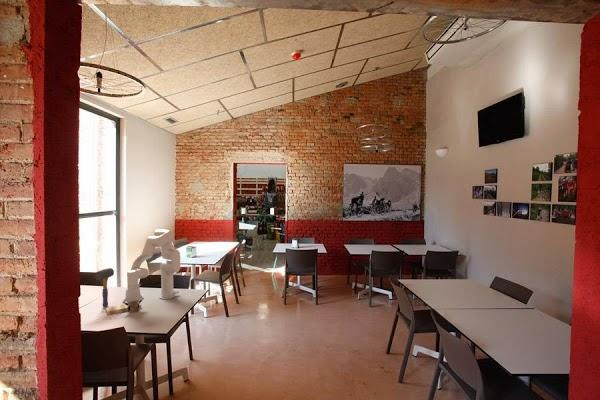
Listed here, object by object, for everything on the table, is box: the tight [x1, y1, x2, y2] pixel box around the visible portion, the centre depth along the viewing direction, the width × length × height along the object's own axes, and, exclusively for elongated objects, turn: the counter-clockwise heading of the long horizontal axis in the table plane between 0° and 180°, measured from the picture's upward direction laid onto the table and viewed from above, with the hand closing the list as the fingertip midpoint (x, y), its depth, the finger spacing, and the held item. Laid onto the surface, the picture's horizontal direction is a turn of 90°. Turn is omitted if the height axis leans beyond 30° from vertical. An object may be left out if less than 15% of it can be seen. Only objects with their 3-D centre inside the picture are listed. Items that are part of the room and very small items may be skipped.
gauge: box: [129, 301, 139, 314], centre depth 250 cm, size 5×14×8 cm, turn 36°
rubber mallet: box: [94, 267, 115, 308], centre depth 255 cm, size 12×8×30 cm, turn 167°
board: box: [105, 303, 142, 316], centre depth 249 cm, size 23×10×3 cm, turn 126°
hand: (133, 309), depth 246 cm, fingers closed on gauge, 5 cm apart
